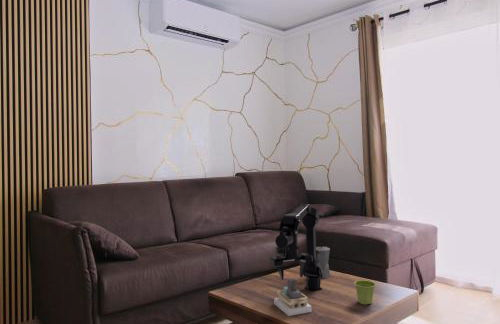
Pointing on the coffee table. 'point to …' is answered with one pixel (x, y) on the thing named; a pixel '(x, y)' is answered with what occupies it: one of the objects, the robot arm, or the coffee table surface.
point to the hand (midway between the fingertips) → (291, 278)
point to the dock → (294, 310)
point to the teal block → (286, 291)
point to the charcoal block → (295, 295)
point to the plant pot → (365, 291)
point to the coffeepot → (323, 259)
